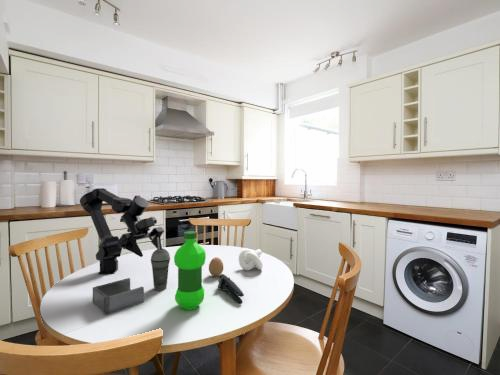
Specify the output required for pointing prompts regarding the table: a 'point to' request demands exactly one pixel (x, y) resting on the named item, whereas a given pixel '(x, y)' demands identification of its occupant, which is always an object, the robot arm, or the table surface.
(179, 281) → the plastic bottle
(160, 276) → the beverage cup
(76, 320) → the table surface
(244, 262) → the white rounded lump
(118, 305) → the box
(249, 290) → the table surface
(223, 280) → the can opener
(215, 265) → the egg
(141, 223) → the robot arm
